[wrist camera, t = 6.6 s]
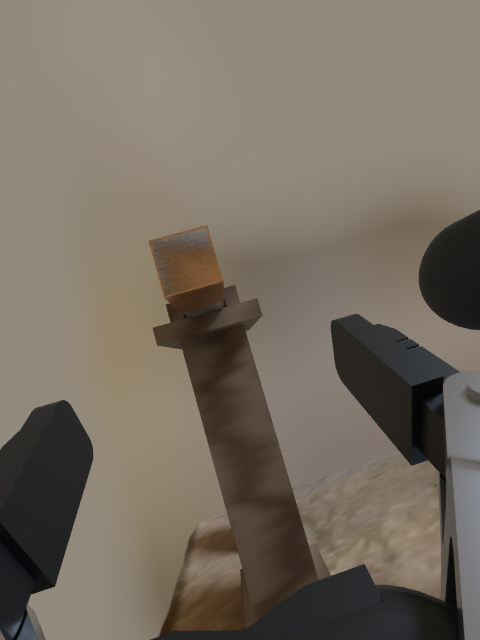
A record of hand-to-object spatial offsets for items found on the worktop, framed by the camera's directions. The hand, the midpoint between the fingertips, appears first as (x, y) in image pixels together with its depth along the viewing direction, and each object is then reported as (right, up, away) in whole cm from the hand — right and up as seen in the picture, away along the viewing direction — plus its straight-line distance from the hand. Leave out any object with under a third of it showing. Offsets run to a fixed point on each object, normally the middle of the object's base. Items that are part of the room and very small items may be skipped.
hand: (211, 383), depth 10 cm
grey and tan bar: (-2, +2, +19) cm, 19 cm away
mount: (+7, -29, +22) cm, 37 cm away
